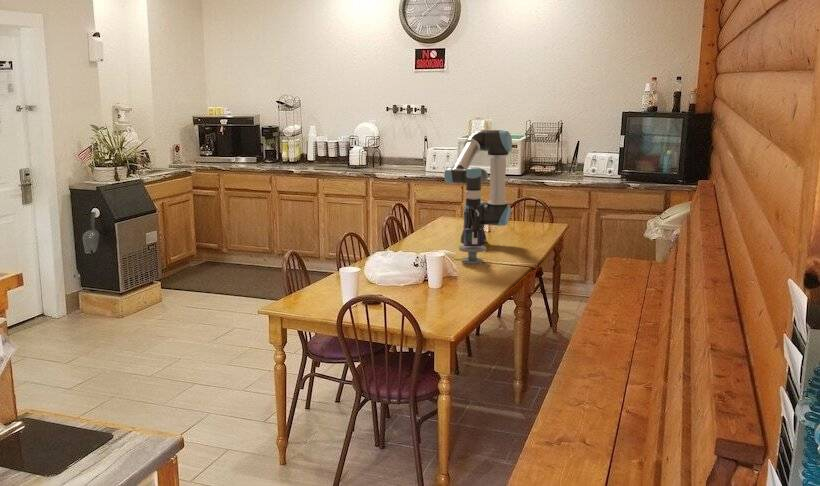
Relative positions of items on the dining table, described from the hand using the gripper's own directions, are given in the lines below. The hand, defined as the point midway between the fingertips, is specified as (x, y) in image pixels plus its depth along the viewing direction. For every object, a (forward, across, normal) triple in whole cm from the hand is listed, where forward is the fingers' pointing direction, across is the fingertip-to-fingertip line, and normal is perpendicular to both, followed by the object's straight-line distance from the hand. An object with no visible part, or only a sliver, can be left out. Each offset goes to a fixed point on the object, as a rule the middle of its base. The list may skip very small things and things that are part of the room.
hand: (472, 242), depth 379 cm
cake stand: (+10, 0, 0) cm, 10 cm away
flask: (+2, 0, 0) cm, 2 cm away
